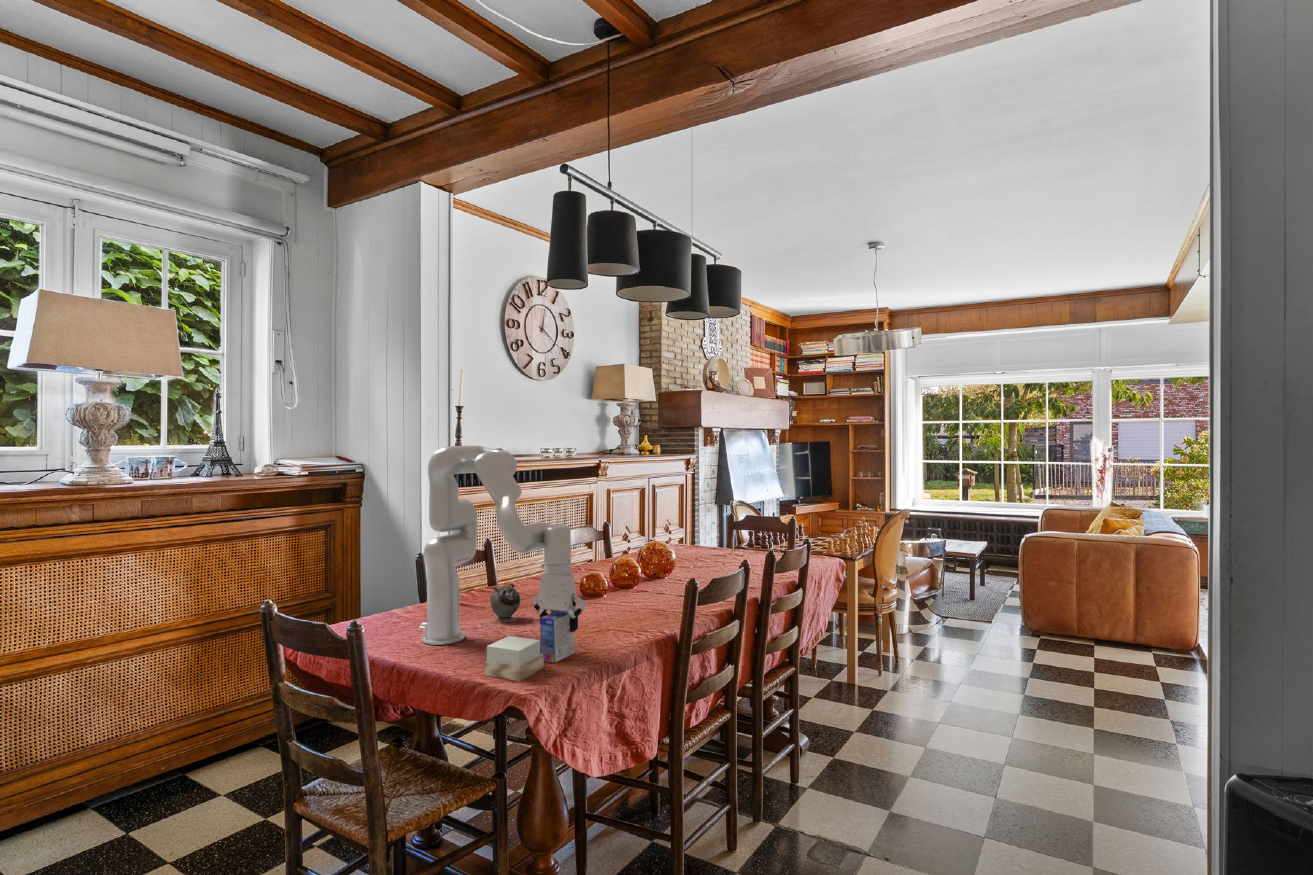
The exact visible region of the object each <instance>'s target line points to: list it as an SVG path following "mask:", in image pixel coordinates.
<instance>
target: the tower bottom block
mask: <svg viewBox="0 0 1313 875" xmlns="http://www.w3.org/2000/svg"><path fill="white" fill-rule="evenodd" d="M544 662H545V661H544V655H541V653H540V655H539V656H537V657H536V658H534V659H532V660H530V661H528V662H526V663H524V664H522V665H521V666H513V665H507V664H500V663H494V662H488V661H487V660H485V661H484V676H487V677H493V678H500V679H504V680H512V681H517V682H521V681H524V680H525V679H526V678H527V679H528V678H529V677H530V676H532V675H534V674H535V673H537V672H539V671H540V670H543V669H544Z"/></svg>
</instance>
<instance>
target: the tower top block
mask: <svg viewBox="0 0 1313 875" xmlns="http://www.w3.org/2000/svg"><path fill="white" fill-rule="evenodd" d="M540 654H541V639H540V640H539V639H534V638H533V639H532V638H525V637H519V636H511V635H508V636H506V637H504V638H501V639H499V640H497V641H495V642H492V643H491V644H488V645H486V661H488V662H494V663H500V664H507V665H513V666H521V665H522V664H524V663H526V662H528V661H530V660H532V659H534V658H536V657H537V656H539V655H540Z"/></svg>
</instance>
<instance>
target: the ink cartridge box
mask: <svg viewBox="0 0 1313 875" xmlns="http://www.w3.org/2000/svg"><path fill="white" fill-rule="evenodd" d="M549 611H550V613H548V615H546V616H543V617H541V618H540V617H539V625H540V626H539V627H540V628H539V629H540V631H539V632H540V654H541V655H544V662H548V663H549V662H550V663H558V662H559V661H562V660H564V659H565V658H567V657H570V656H571V655H574V654H575V651H576V650H575V648H576V646H575V645H576V644H575V641H576V640H575V631H574V632H570V623H569V619H570V618H571V616H570V614H569V613H568V611H565V612H562V611H552V610H549Z"/></svg>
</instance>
